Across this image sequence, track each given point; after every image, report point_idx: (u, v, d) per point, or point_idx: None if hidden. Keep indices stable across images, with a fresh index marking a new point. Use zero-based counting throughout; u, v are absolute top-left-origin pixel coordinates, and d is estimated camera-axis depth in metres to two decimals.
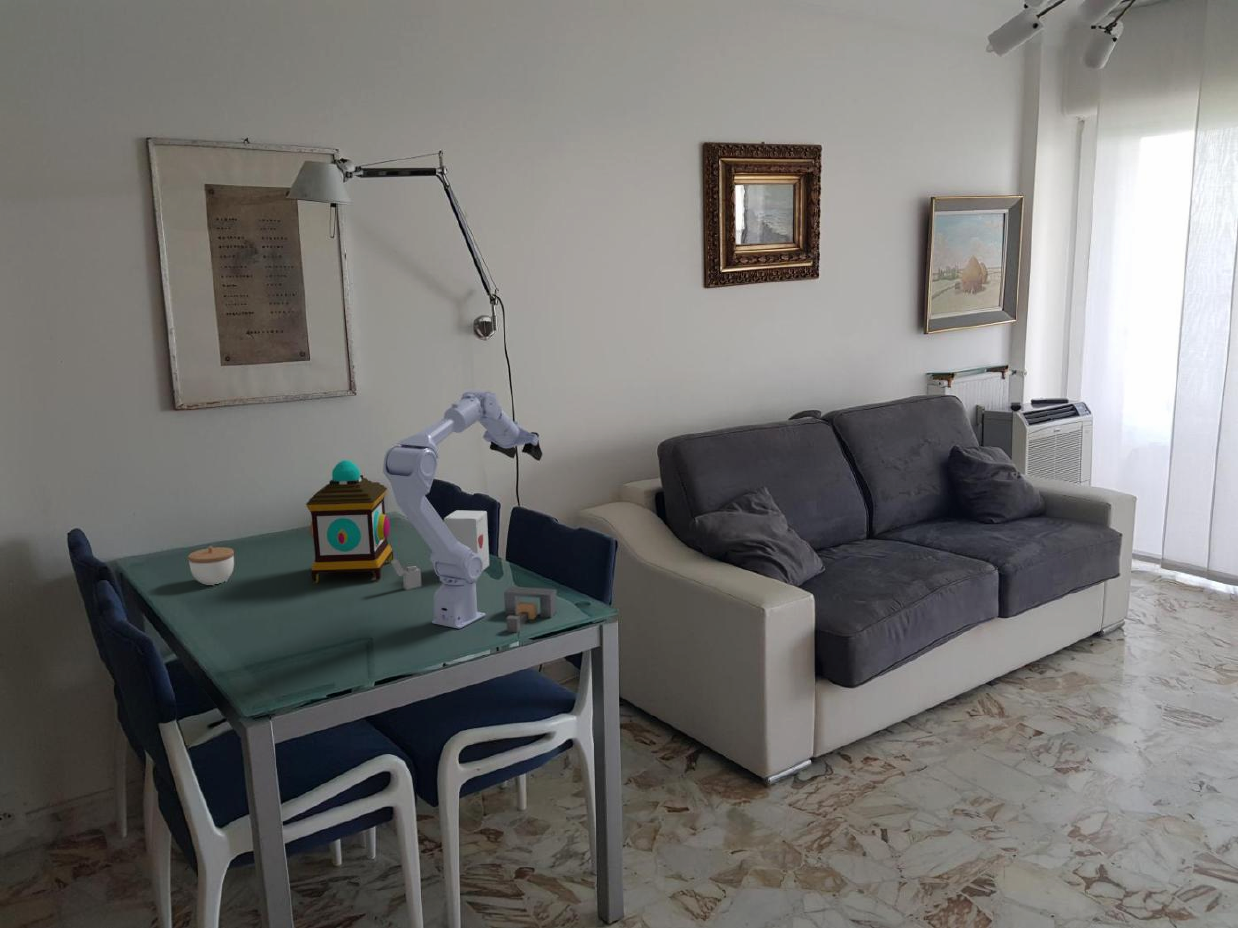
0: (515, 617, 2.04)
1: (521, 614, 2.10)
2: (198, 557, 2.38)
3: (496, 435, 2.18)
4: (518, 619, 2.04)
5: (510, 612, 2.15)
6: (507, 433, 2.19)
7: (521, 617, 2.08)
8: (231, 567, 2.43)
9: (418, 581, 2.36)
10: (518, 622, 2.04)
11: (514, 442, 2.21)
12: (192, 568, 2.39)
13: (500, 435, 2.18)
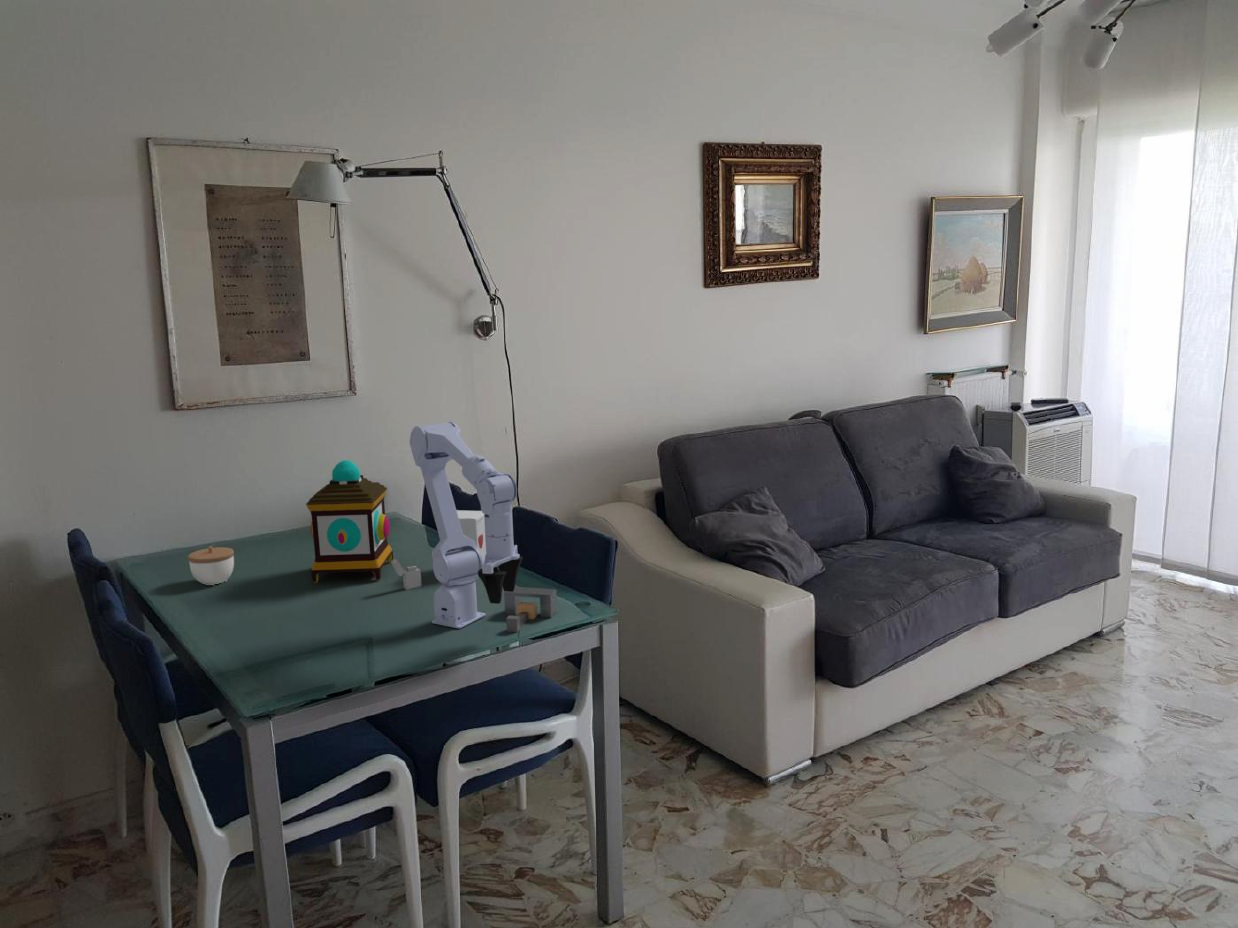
0: (515, 617, 2.04)
1: (521, 614, 2.10)
2: (198, 557, 2.38)
3: None
4: (518, 619, 2.04)
5: (510, 612, 2.15)
6: (488, 540, 1.94)
7: (521, 617, 2.08)
8: (231, 567, 2.43)
9: (418, 581, 2.36)
10: (518, 622, 2.04)
11: (487, 557, 1.94)
12: (192, 568, 2.39)
13: (485, 535, 1.95)
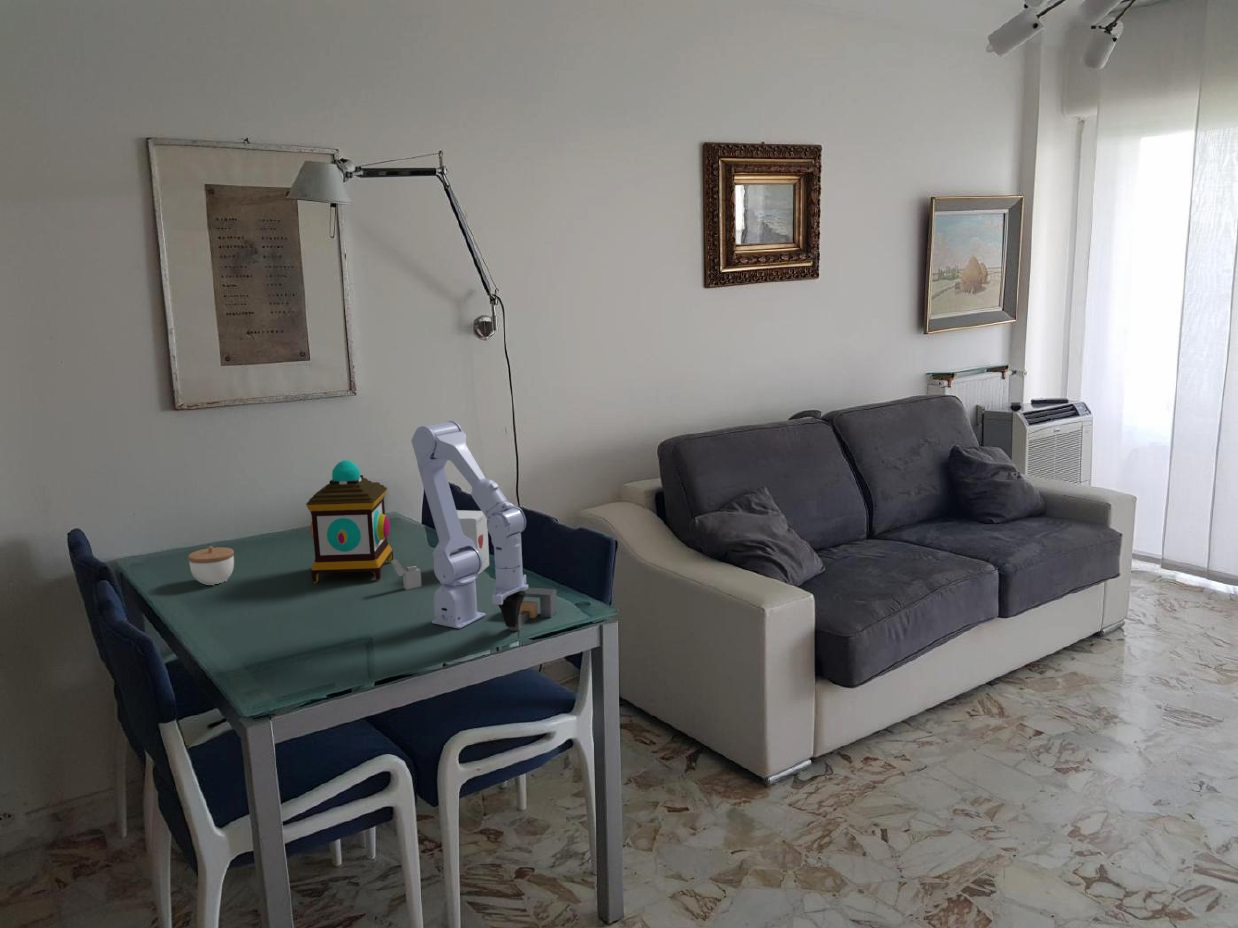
0: None
1: (522, 613, 2.11)
2: (198, 557, 2.38)
3: None
4: (519, 618, 2.05)
5: None
6: (497, 571, 1.99)
7: (522, 616, 2.09)
8: (231, 567, 2.43)
9: (419, 581, 2.36)
10: (519, 621, 2.05)
11: (497, 587, 2.00)
12: (192, 568, 2.39)
13: (495, 567, 2.01)
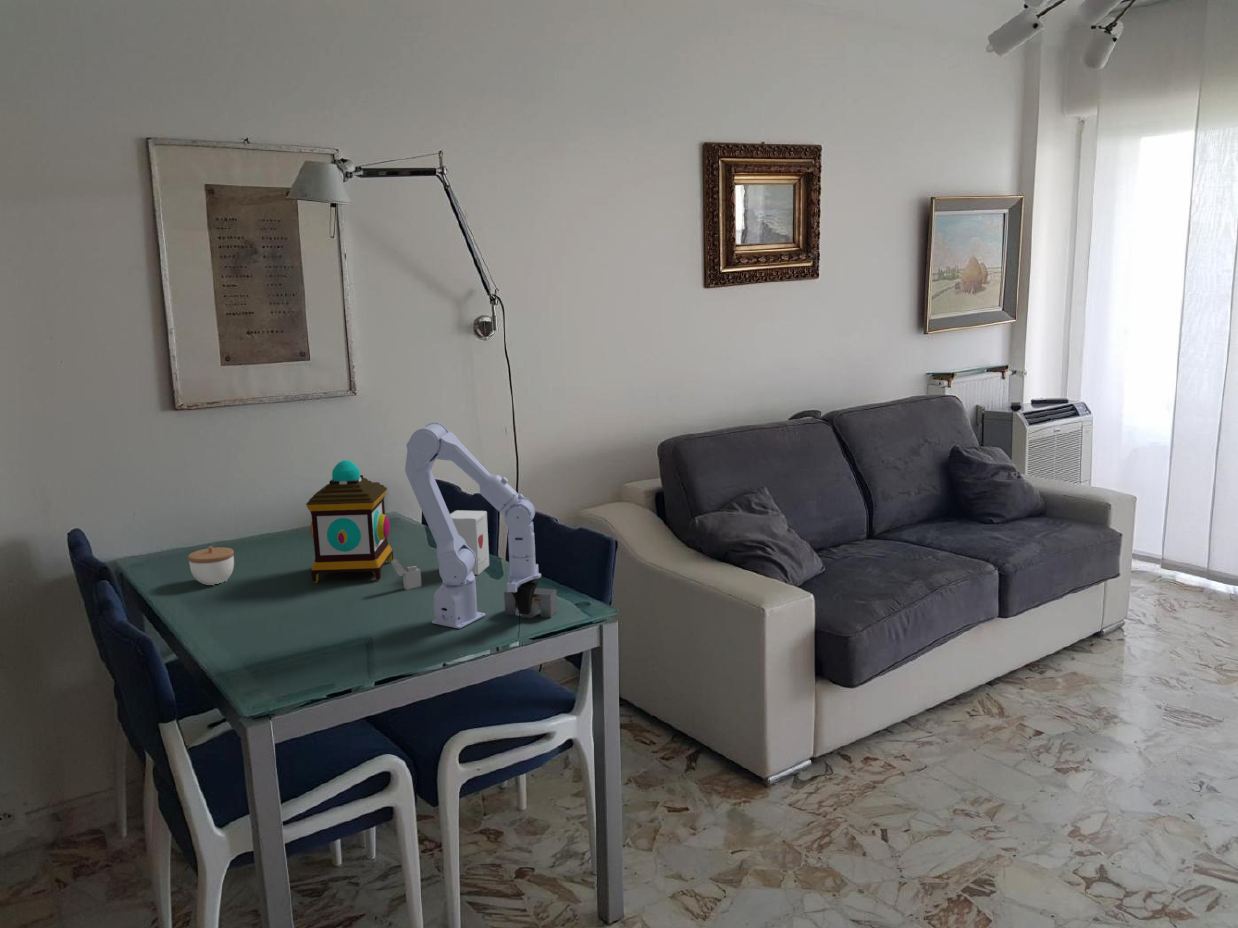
0: None
1: (535, 601, 2.18)
2: (198, 557, 2.38)
3: None
4: (532, 605, 2.13)
5: (510, 612, 2.15)
6: (511, 560, 2.07)
7: (535, 604, 2.17)
8: (231, 567, 2.43)
9: (419, 581, 2.36)
10: (532, 608, 2.13)
11: (511, 576, 2.08)
12: (192, 568, 2.39)
13: (509, 556, 2.08)
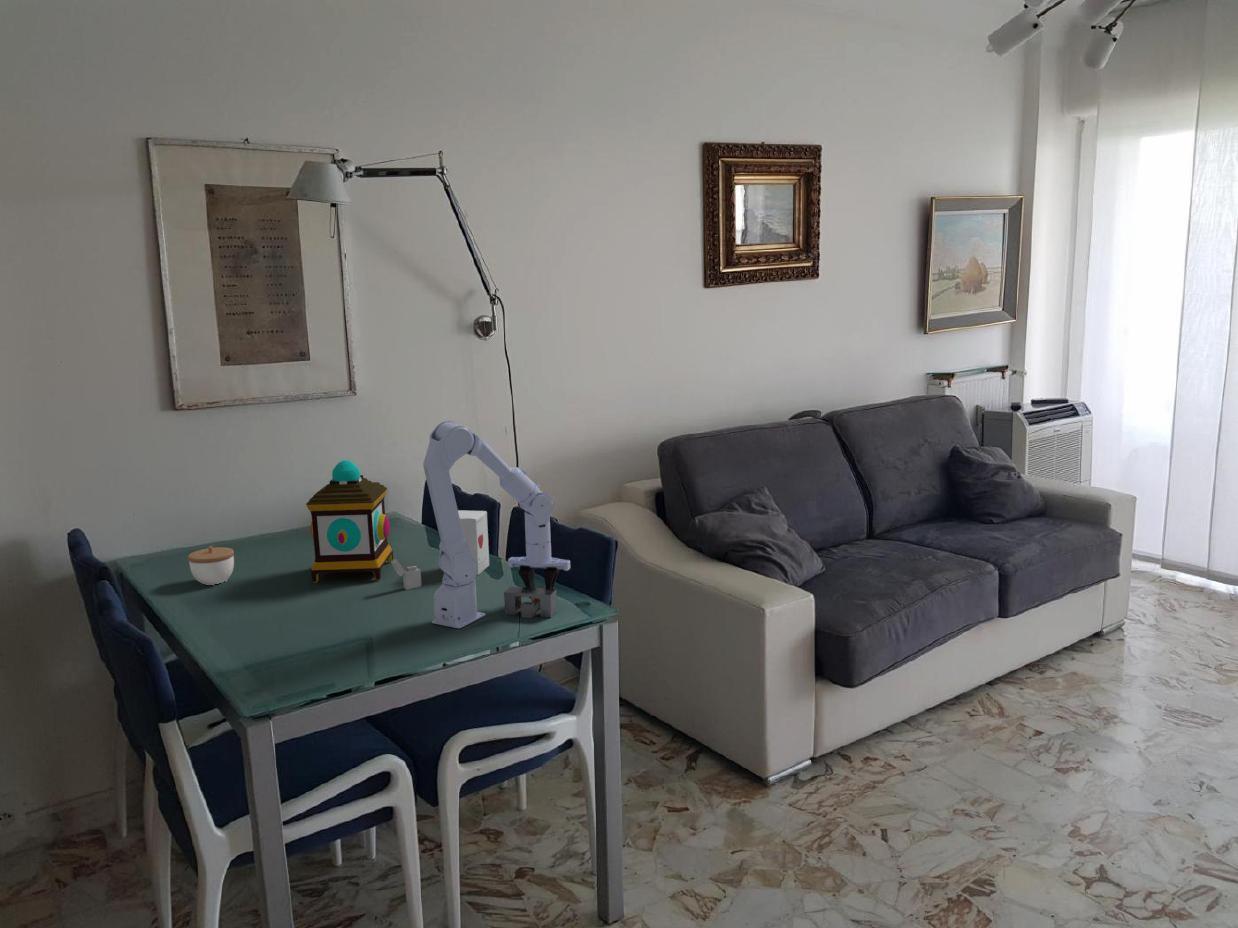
0: (529, 603, 2.13)
1: (535, 601, 2.19)
2: (198, 557, 2.38)
3: (536, 543, 2.16)
4: (532, 605, 2.13)
5: (510, 612, 2.15)
6: (546, 546, 2.17)
7: (535, 603, 2.17)
8: (231, 567, 2.43)
9: (419, 581, 2.36)
10: (532, 608, 2.13)
11: (546, 562, 2.17)
12: (192, 568, 2.39)
13: (539, 545, 2.16)
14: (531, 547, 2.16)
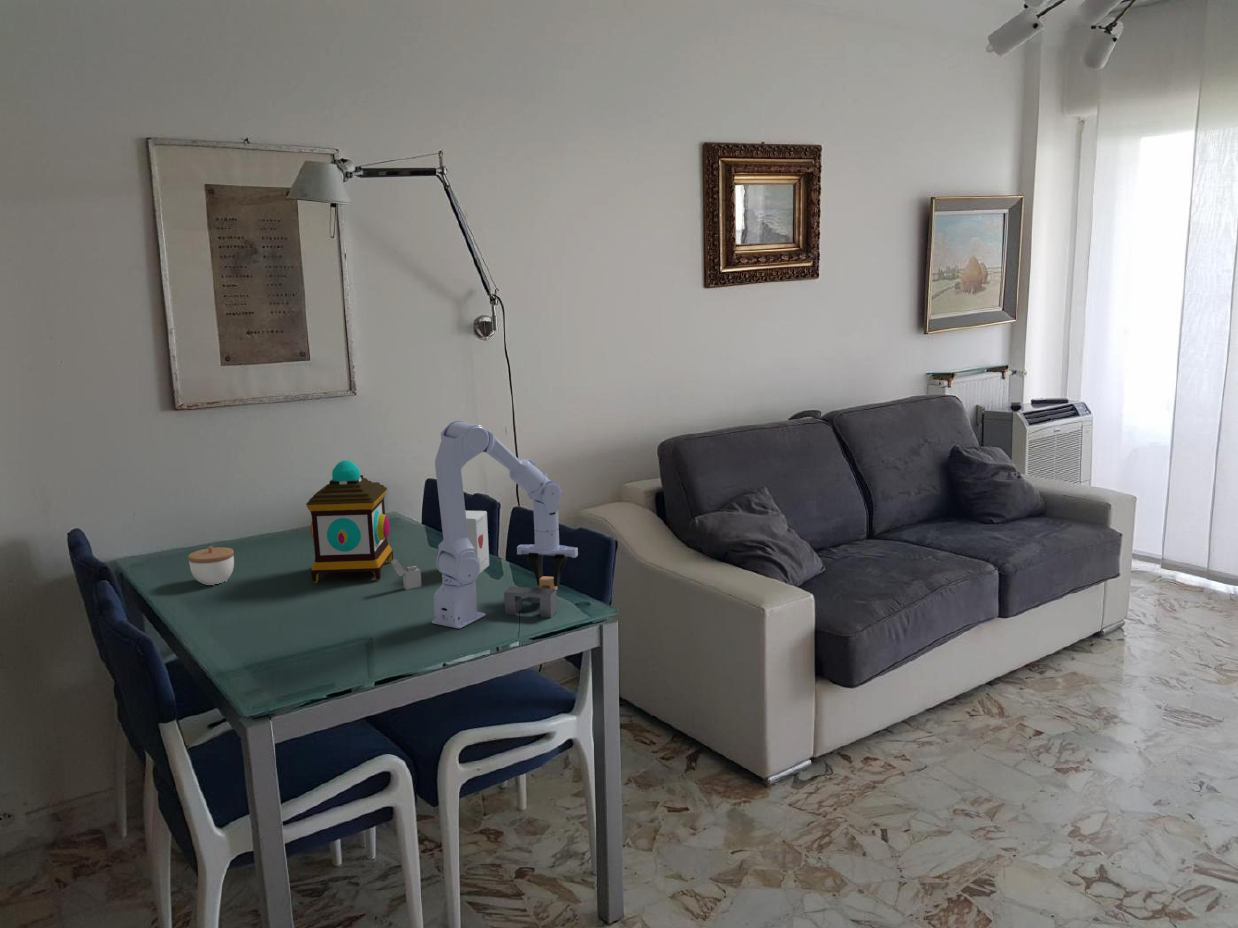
0: None
1: (543, 587, 2.24)
2: (198, 557, 2.38)
3: (544, 531, 2.21)
4: None
5: (510, 612, 2.15)
6: (554, 534, 2.22)
7: None
8: (231, 567, 2.43)
9: (418, 581, 2.36)
10: None
11: (554, 549, 2.23)
12: (192, 568, 2.39)
13: (547, 533, 2.21)
14: (540, 534, 2.22)
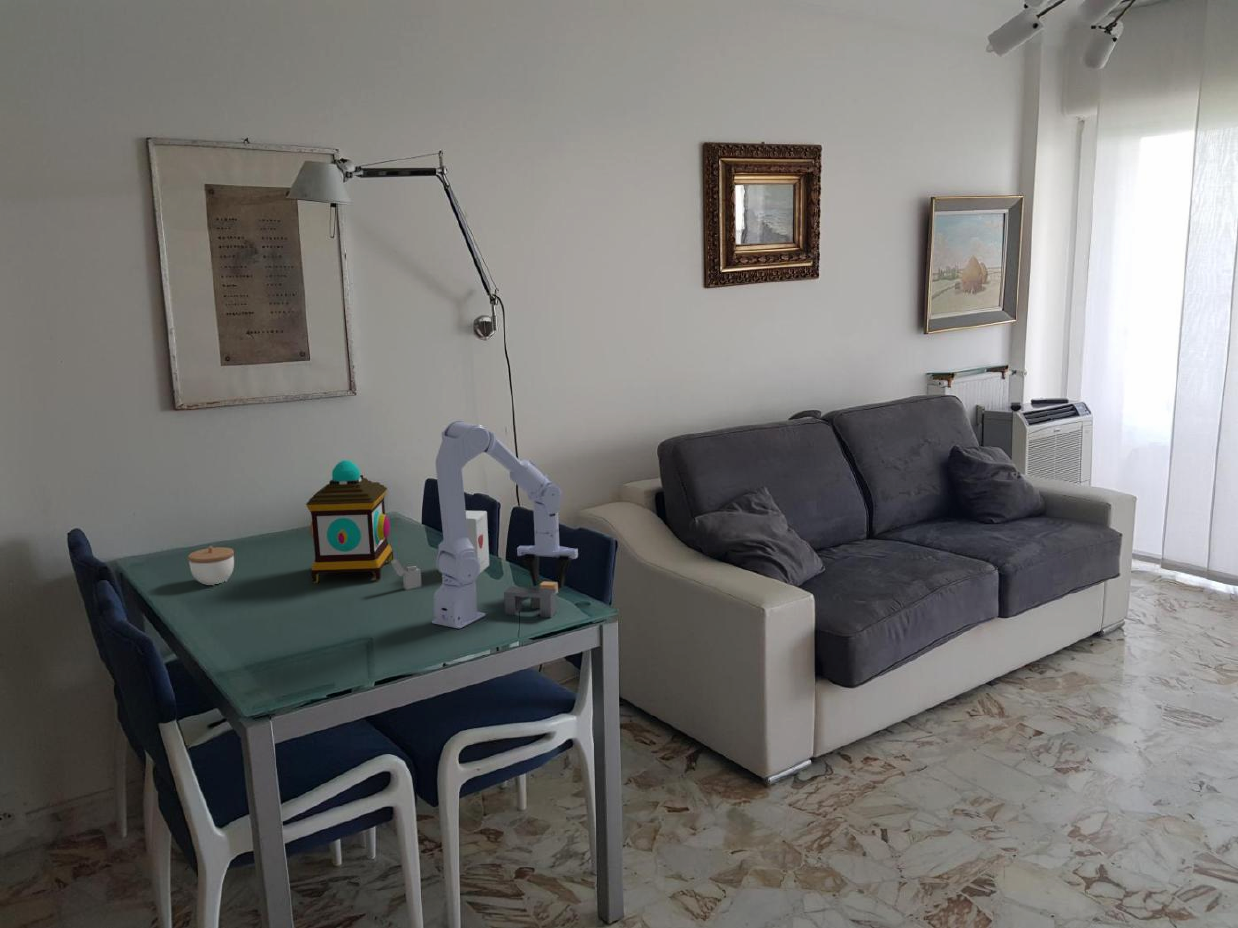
0: None
1: None
2: (198, 557, 2.38)
3: (544, 532, 2.21)
4: None
5: (510, 612, 2.15)
6: (554, 535, 2.22)
7: None
8: (231, 567, 2.43)
9: (418, 581, 2.36)
10: None
11: (554, 550, 2.23)
12: (192, 568, 2.39)
13: (547, 534, 2.21)
14: (540, 536, 2.22)
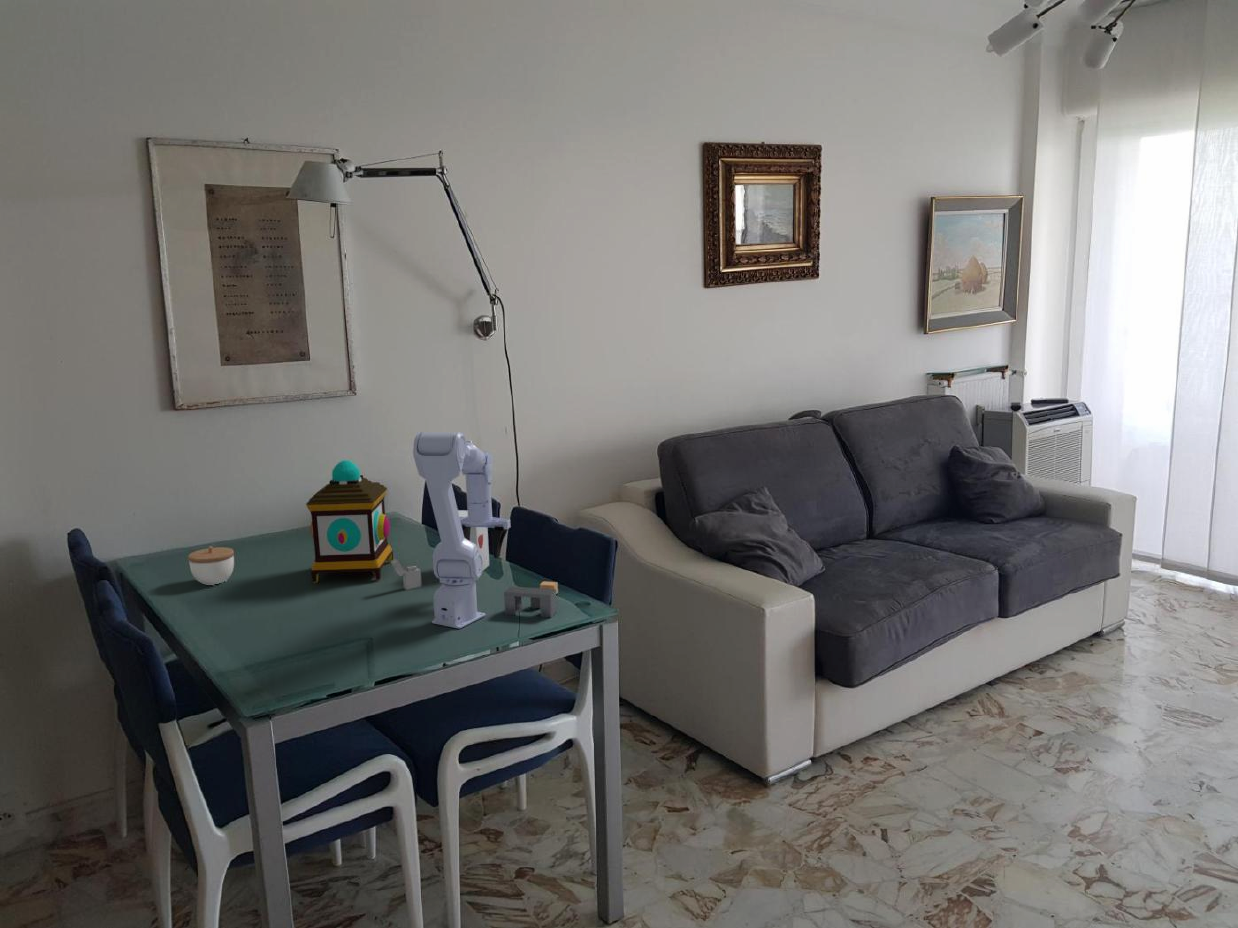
0: None
1: None
2: (198, 557, 2.38)
3: (476, 502, 2.22)
4: None
5: (510, 612, 2.15)
6: (486, 506, 2.23)
7: None
8: (231, 567, 2.43)
9: (419, 581, 2.36)
10: None
11: (486, 521, 2.24)
12: (192, 568, 2.39)
13: (479, 504, 2.22)
14: (472, 506, 2.23)
